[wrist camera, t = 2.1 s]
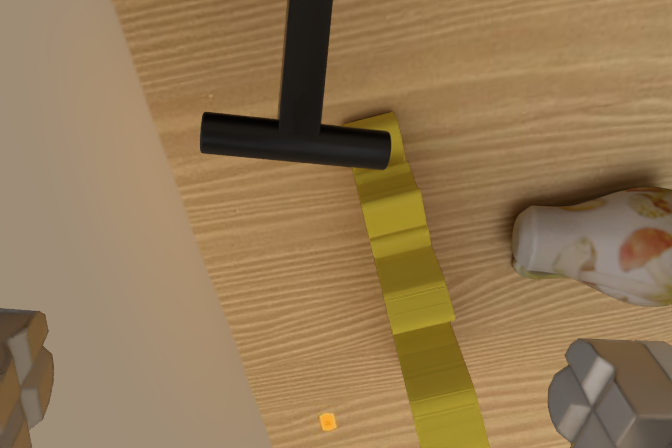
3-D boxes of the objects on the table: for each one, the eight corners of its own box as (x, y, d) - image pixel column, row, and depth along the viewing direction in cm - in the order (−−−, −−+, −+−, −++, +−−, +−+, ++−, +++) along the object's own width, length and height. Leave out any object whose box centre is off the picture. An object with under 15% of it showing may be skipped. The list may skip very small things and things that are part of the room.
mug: (493, 176, 35) (655, 224, 27) (591, 159, 40) (751, 195, 32) (480, 288, 38) (625, 362, 30) (573, 258, 43) (718, 315, 35)
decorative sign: (340, 120, 32) (385, 303, 20) (391, 107, 32) (468, 283, 19) (400, 363, 43) (452, 576, 31) (438, 354, 43) (505, 564, 31)
